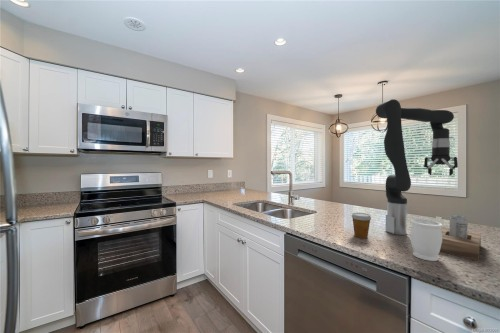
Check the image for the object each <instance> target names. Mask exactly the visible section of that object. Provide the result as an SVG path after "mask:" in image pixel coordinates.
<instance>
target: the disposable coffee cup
mask: <svg viewBox="0 0 500 333" xmlns="http://www.w3.org/2000/svg"><path fill="white" fill-rule="evenodd" d="M351 218H352V225H353V227H352V228H353V233H354V237H355V238H359V239H368V237H369V231H370V224H371V219H372V217H371V215H370V214H369V213H366V212H352V214H351Z"/></svg>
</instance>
